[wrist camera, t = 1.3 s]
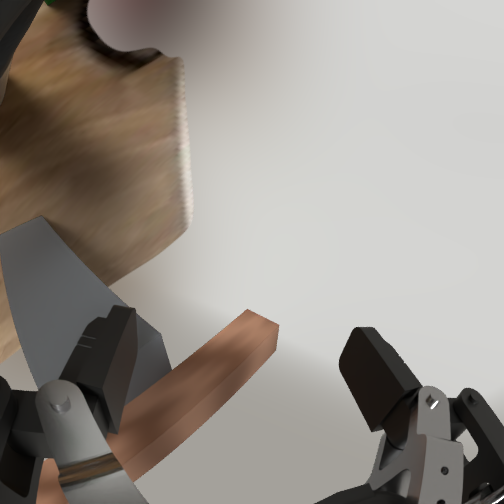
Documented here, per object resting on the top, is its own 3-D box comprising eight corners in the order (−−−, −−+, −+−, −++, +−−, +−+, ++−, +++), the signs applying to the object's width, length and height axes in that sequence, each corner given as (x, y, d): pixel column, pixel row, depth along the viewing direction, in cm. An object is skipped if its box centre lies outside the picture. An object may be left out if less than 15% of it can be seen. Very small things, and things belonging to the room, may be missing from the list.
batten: (14, 507, 4) (35, 541, 3) (-14, 494, 3) (6, 533, 1) (246, 334, 23) (275, 350, 21) (247, 308, 21) (279, 324, 20)
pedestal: (20, 293, 29) (118, 468, 13) (-2, 235, 24) (48, 409, 8) (58, 273, 35) (187, 413, 19) (41, 215, 30) (160, 333, 14)
